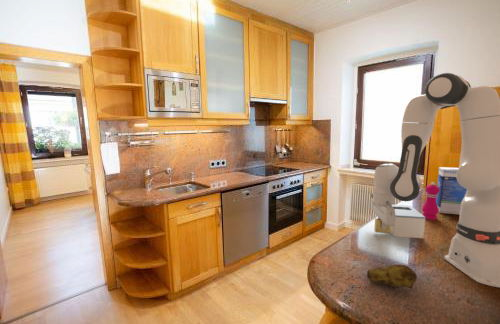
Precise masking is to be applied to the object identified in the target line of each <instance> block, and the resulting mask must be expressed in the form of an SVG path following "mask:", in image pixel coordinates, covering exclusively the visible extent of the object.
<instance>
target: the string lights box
mask: <svg viewBox="0 0 500 324" xmlns="http://www.w3.org/2000/svg"><path fill="white" fill-rule="evenodd" d="M458 169H459V167H445V166H444V167H443V166H439V167H438V177H437V185H436V186H438V187H439V193H437V196H438V197H437V198H436V204H437V206H438V210H439V212H438V214H439V213H440V214H449V215H450V214H451V215H459V216H460V209H461V202H462V200H463V198H464V196H465V194H466V191H467V189H465V188H464V187H462V186H461V185H460V184H459V183H458V181H457V178H456V173H457V171H458Z"/></svg>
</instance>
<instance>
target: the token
mask: <svg viewBox="0 0 500 324" xmlns="http://www.w3.org/2000/svg"><path fill="white" fill-rule="evenodd" d="M381 225H382V220H381V219H378V218H375V219H374V232H375V233H379V234H390V233H391V232H390V226H386V230H383V229H382V228H381Z"/></svg>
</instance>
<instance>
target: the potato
mask: <svg viewBox="0 0 500 324" xmlns="http://www.w3.org/2000/svg"><path fill="white" fill-rule="evenodd" d="M366 277H367V279H368V280H369V281H370V282H371V283H374V284H380V285H381V286H382V285H383V286H385V287H391V288H408V289H413V286H414V284H415V283H416V281H417V279H418V277H417V274H416V272H415V271H414V270H413V269H412V268H410V267H409V266H407V265H405V264H392V265H389V266H385V267H372V268H370V269H368V271H367V274H366Z"/></svg>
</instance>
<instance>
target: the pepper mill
mask: <svg viewBox="0 0 500 324" xmlns="http://www.w3.org/2000/svg"><path fill="white" fill-rule="evenodd" d="M425 192H426V194H425V195H426V196H425V197H426V200H425V203H424V204H423V206H422V208H421V211H422V212H423V213H422V215H423V216H425V220H431V221H435V220H437V217H438V215H437V214H439V210H438V206H437V204H436V198H437V197H438V196H437V193H439V187H438V186H437V185H436V183H435V182H434V181H432V182H431V183H430V184H429V185H427V186H426V187H425Z"/></svg>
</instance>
